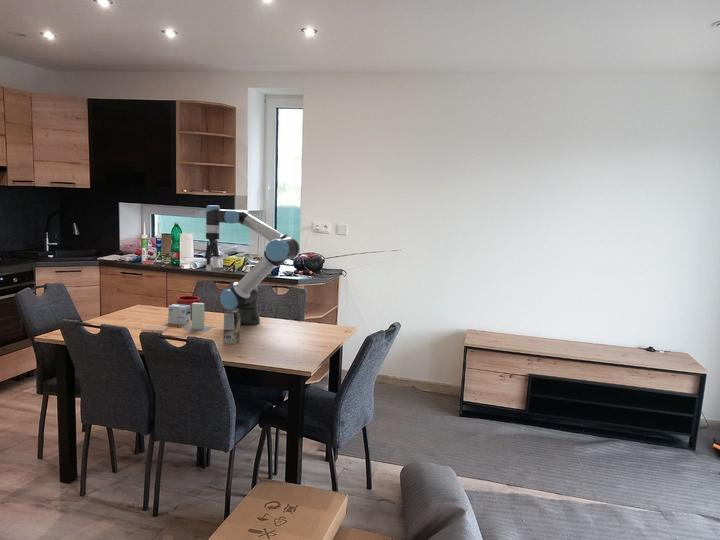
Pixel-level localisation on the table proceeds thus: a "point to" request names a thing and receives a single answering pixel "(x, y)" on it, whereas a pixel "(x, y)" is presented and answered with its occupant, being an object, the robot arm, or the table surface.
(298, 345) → the table surface
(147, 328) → the tile
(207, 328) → the tool mat
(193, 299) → the plant pot
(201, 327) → the pusher tool
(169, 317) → the light bulb box
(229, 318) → the coffee box
